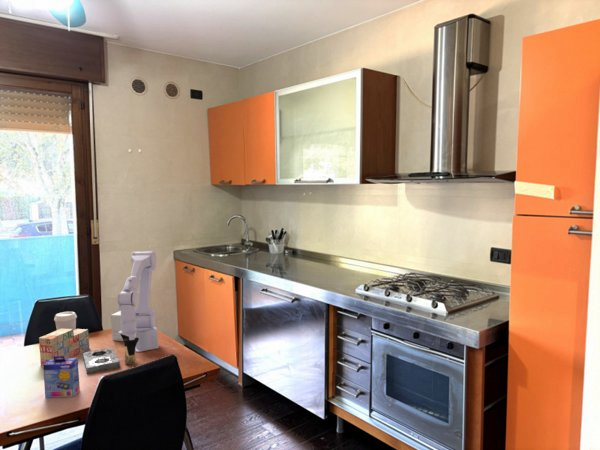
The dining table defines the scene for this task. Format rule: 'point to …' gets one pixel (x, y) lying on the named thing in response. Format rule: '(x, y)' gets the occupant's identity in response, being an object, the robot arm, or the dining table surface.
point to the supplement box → (116, 326)
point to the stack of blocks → (63, 344)
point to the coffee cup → (65, 320)
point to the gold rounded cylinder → (129, 358)
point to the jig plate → (100, 360)
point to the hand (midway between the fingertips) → (129, 352)
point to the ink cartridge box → (61, 377)
